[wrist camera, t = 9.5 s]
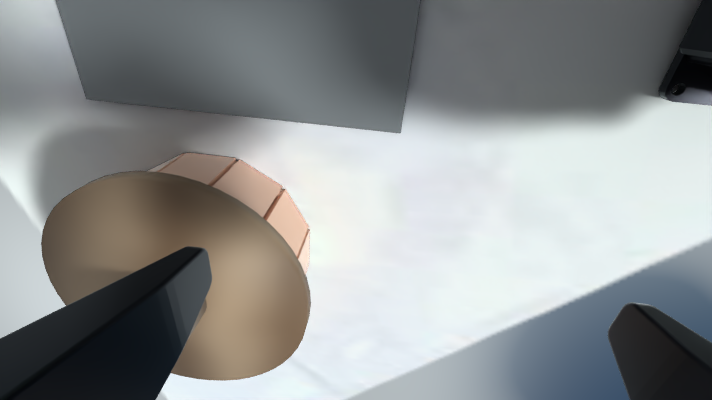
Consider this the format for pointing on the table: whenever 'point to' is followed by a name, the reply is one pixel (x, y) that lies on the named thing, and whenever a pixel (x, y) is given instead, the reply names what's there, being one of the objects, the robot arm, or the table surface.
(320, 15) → the mat
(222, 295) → the lid
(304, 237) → the bowl
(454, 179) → the table surface
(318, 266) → the table surface
